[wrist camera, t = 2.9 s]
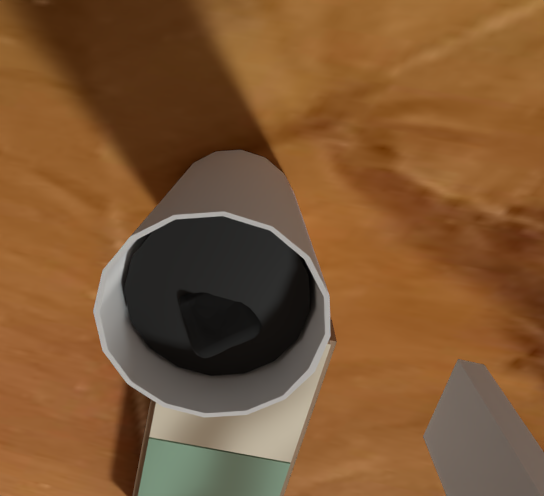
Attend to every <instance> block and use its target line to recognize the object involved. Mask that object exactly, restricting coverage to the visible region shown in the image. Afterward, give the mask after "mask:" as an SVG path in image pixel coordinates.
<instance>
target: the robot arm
mask: <svg viewBox="0 0 544 496" xmlns="http://www.w3.org/2000/svg"><path fill="white" fill-rule="evenodd" d="M423 438H424V440H425V443H426V445H427V448H428V450H429V453H430V455H431V458H432V460H433V463H434V465H435V468H436V470H437V473H438V475H439V478H440V480H441V483H442V485H443V488H444V490H445V493H446V495H447V496H544V452H543V450H542V449H541V448H540V446H539V445H538V443H537V442H536V440H535V439H534V437H533V436H532V434H531V433H530V431H529V430H528V428H527V427H526V425H525V424H524V423H523V421H522V420H521V418H520V417H519V415H518V414H517V412H516V411H515V409H514V408H513V406H512V405H511V403H510V402H509V400H508V399H507V398H506V396H505V395H504V393H503V392H502V390H501V389H500V387H499V386H498V384H497V383H496V381H495V380H494V378H493V377H492V375H491V374H490V373H489V371H488V370H487V368H486V367H485V365H484V364H479V363H474V362H469V361H465V360H460V359H458V360H457V362H456V365H455V367H454V369H453V371H452V374H451V376H450V378H449V380H448V382H447V385H446V387H445V389H444V391H443V394H442V396H441V398H440V400H439V403H438V405H437V407H436V409H435V411H434V414H433V416H432V418H431V420H430V423H429V425H428V427H427V429H426V431H425V434H424V436H423Z"/></svg>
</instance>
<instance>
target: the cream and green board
mask: <svg viewBox="0 0 544 496" xmlns="http://www.w3.org/2000/svg"><path fill="white" fill-rule="evenodd" d="M330 332H331V336H330V339H329V341H328V343H327V345H326V348H325V350H324V352H323V354H322V357H321V359H320V361H319V363H318V366H317V368H316V370H315V372H314V373H313V374H312V375H311V376H310V377H309V378H308V379H307V380H306V381H305V382H303V383H302V384H301V385H300V386H299V387H298V388H297V389H296V390H295V391H294V392H293V393H292V394H290V395H289V396H288V397H287V398H286V399H285V400H282V401H280V402H277V403H275V404H273V405H270V406H268V407H265V408H263V409H260V410H258V411H255V412H253V413H250V414H248V415H238V416H222V417H206V418H204V417H200V416H196V415H193V414H189V413H185V412H181V411H177V410H173V409H169V408H165V407H162V406H161V405H159V404H158V403H156V402H155V401H153V400H151V401H150V406H149V411H148V417H147V422H146V427H145V433H144V438H143V443H142V448H141V454H140V459H139V464H138V469H137V475H136V480H135V485H134V491H133V496H284V493H285V490H286V487H287V484H288V482H289V479H290V476H291V473H292V470H293V467H294V464H295V461H296V458H297V455H298V452H299V450H300V447H301V444H302V441H303V438H304V435H305V432H306V429H307V426H308V423H309V420H310V417H311V415H312V412H313V409H314V406H315V403H316V400H317V397H318V394H319V391H320V388H321V385H322V383H323V380H324V377H325V374H326V371H327V368H328V365H329V362H330V359H331V356H332V353H333V351H334V348H335V345H336V342H337V341H336V337H335V332H334V328H333V324H332V320H330Z"/></svg>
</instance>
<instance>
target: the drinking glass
mask: <svg viewBox="0 0 544 496" xmlns="http://www.w3.org/2000/svg"><path fill="white" fill-rule="evenodd" d="M93 312H94V316H95V321H96V325H97V329H98V333H99V338H100V342H101V346H102V350H103V352H104V353H105V355H106V356H107V357H108V359H109V360H110V361H111V363H112V364H113V365H114V367H115V368H116V369H117V371H118V372H119V373H120V375H121V376H122V377H123V379H124V380H125V382H126V383H127V384H128V385H130V386H131V387H133V388H134V389H136V390H137V391H139V392H141V393H142V394H144V395H145V396H147V397H148V398H150V399H151V400H153V401H155V402H156V403H158V404H159V405H161V406H162V407H165V408H169V409H173V410H177V411H181V412H185V413H189V414H193V415H196V416H200V417H204V418H206V417H222V416H238V415H248V414H250V413H253V412H255V411H258V410H260V409H263V408H265V407H268V406H270V405H273V404H275V403H277V402H280V401H282V400H285V399H286V398H287V397H288V396H289V395H290V394H292V393H293V392H294V391H295V390H296V389H297V388H298V387H299V386H300V385H301V384H302V383H303V382H305V381H306V380H307V379H308V378H309V377H310V376H311V375H312V374H313V373H314V372H315V370H316V368H317V366H318V363H319V361H320V359H321V357H322V354H323V352H324V350H325V348H326V345H327V343H328V341H329V339H330V336H331V332H330V298H329V293H328V290H327V287H326V284H325V281H324V278H323V275H322V272H321V270H320V267H319V264H318V261H317V258H316V255H315V252H314V249H313V246H312V244H311V241H310V238H309V235H308V232H307V229H306V226H305V223H304V220H303V217H302V215H301V212H300V209H299V206H298V203H297V200H296V197H295V194H294V192H293V190H292V188H291V186H290V184H289V182H288V180H287V178H286V176H285V174H284V173H283V172H282V171H280V170H279V169H278V168H277V167H276V166H275V165H273V164H272V163H271V162H270V161H269V160H268V159H266V158H265V157H262V156H259V155H256V154H253V153H250V152H247V151H244V150H229V151H216V152H214V153H212V154H210V155H208V156H206V157H204V158H202V159H200V160H198V161H196V162H194V163H193V164H192V165H191V166H190V168H189V169H188V170H187V171H186V172H185V173H184V175H183V176H182V177H181V178H180V179H179V180H178V182H177V183H176V184H175V185H174V186H173V187H172V189H171V190H170V191H169V192H168V193H167V194H166V196H165V197H164V198H163V199H162V200H161V201H160V203H159V204H158V205H157V206H156V207H155V208H154V210H153V211H152V212H151V213H150V214H149V215H148V217H147V218H146V219H145V220H144V221H143V222H142V224H141V225H140V226H139V227H138V228H137V229H136V231H135V232H134V233H133V234H132V235H131V236H130V238H129V239H128V240H127V241H126V242H125V244H124V245H123V246H122V247H121V249H120V250H119V251H118V252H117V253H116V255H115V256H114V257H113V258H112V260H111V261H110V262H109V263H108V264H107V266H106V267H105V268H104V269H103V271H102V275H101V279H100V284H99V288H98V293H97V297H96V301H95V306H94V310H93Z"/></svg>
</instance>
